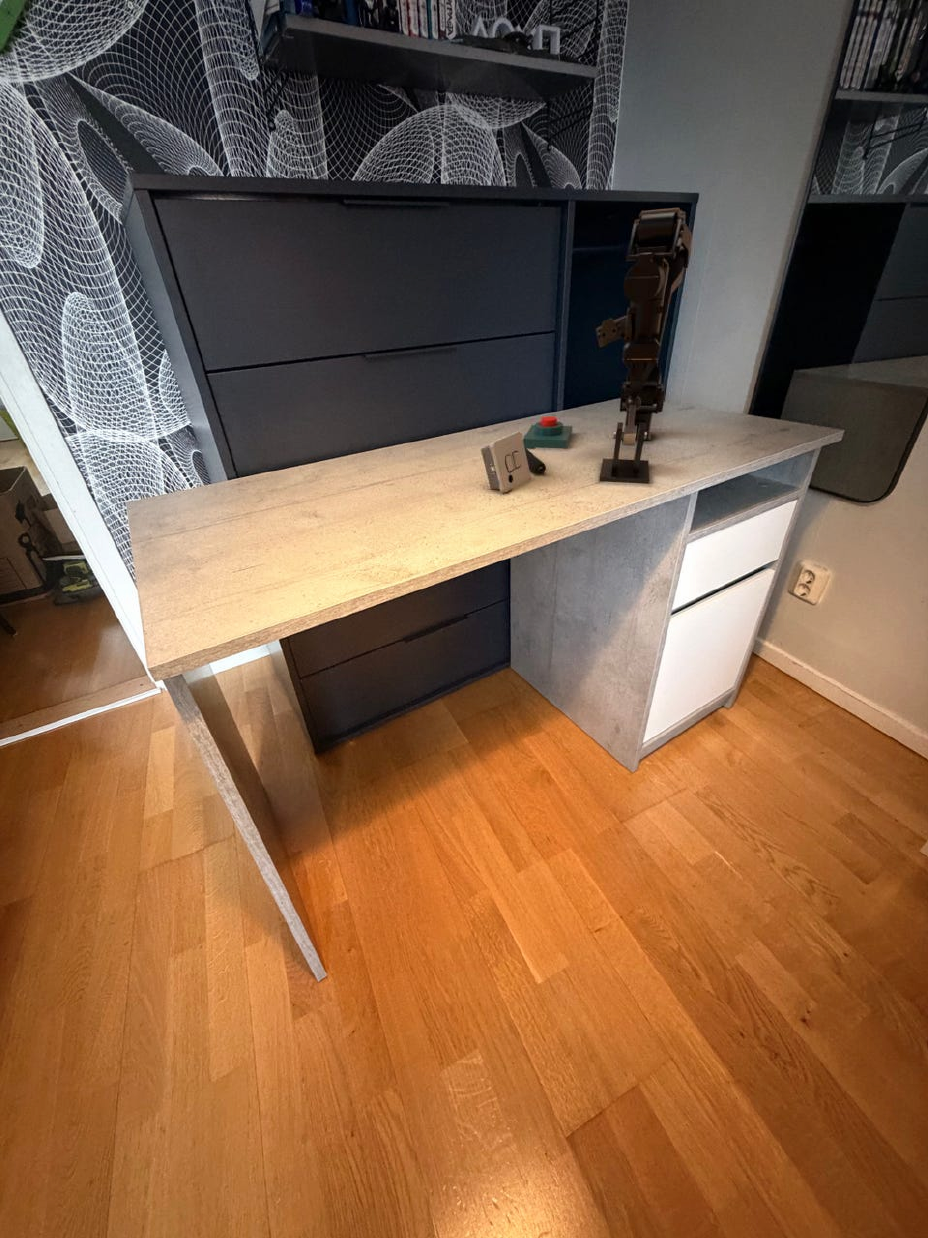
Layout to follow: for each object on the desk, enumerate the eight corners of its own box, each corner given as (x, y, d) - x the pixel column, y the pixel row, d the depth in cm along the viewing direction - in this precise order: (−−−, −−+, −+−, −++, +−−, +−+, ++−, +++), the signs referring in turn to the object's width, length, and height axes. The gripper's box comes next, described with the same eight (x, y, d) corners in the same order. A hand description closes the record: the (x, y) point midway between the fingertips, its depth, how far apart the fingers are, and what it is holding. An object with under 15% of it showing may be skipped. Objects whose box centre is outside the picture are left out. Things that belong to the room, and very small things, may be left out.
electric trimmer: (532, 479, 98) (533, 463, 96) (505, 455, 110) (505, 441, 108) (549, 476, 99) (550, 461, 97) (521, 453, 111) (521, 439, 109)
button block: (531, 433, 123) (532, 417, 121) (571, 435, 120) (573, 418, 118) (522, 448, 114) (523, 430, 111) (566, 450, 111) (567, 431, 109)
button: (542, 423, 117) (542, 416, 116) (557, 424, 116) (557, 416, 115) (539, 427, 114) (540, 420, 113) (555, 428, 113) (555, 420, 112)
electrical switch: (504, 494, 92) (500, 443, 87) (482, 492, 95) (477, 442, 90) (531, 479, 97) (528, 431, 92) (509, 477, 100) (506, 430, 95)
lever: (624, 406, 101) (626, 392, 99) (640, 406, 100) (642, 392, 98) (620, 446, 94) (621, 432, 91) (636, 447, 93) (638, 432, 90)
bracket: (602, 464, 102) (607, 417, 97) (647, 466, 100) (655, 418, 95) (599, 482, 94) (604, 433, 89) (648, 485, 92) (657, 434, 86)
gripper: (604, 297, 98) (595, 383, 107) (598, 304, 83) (588, 402, 92) (663, 295, 95) (649, 383, 104) (667, 302, 80) (651, 403, 89)
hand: (633, 392), depth 97 cm, fingers open, 9 cm apart
